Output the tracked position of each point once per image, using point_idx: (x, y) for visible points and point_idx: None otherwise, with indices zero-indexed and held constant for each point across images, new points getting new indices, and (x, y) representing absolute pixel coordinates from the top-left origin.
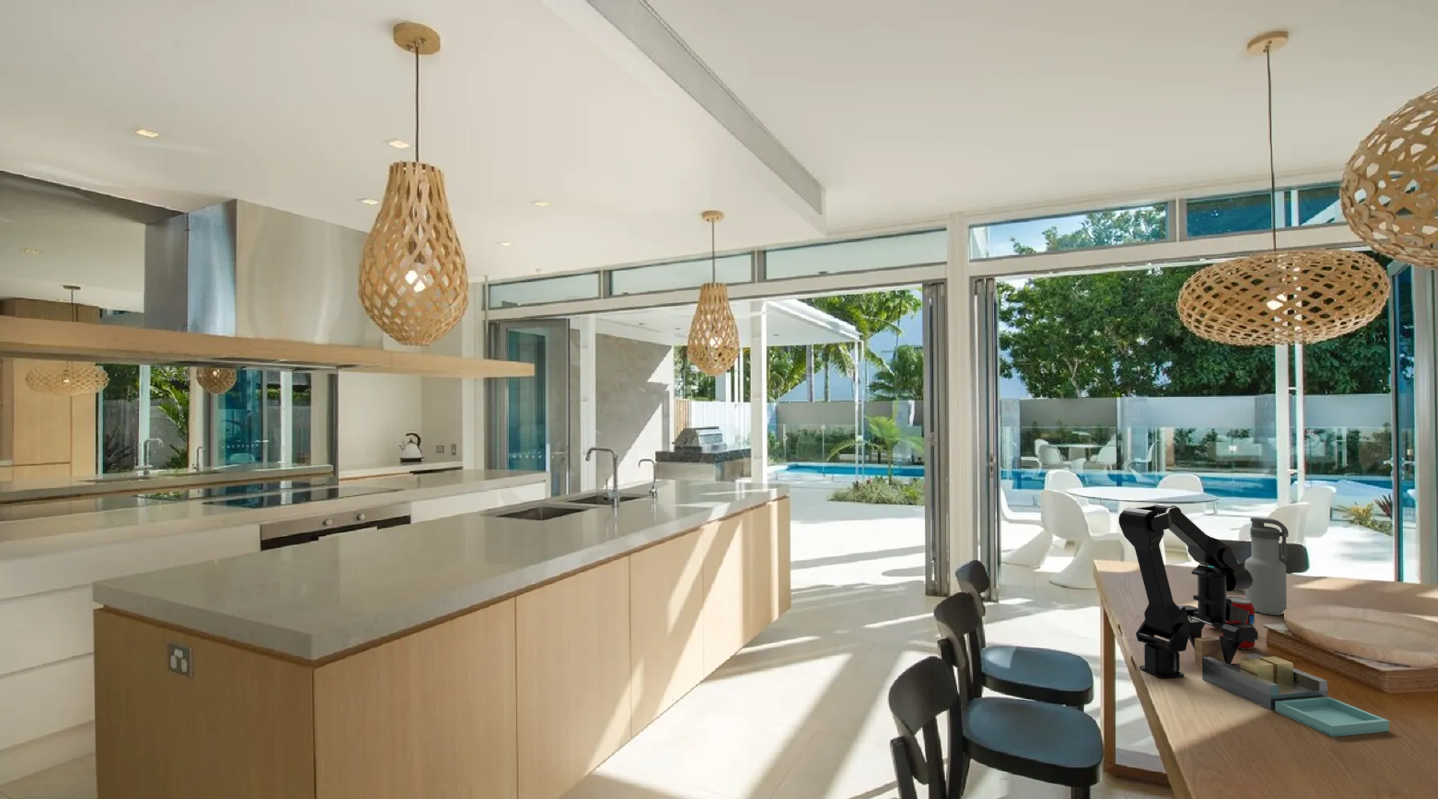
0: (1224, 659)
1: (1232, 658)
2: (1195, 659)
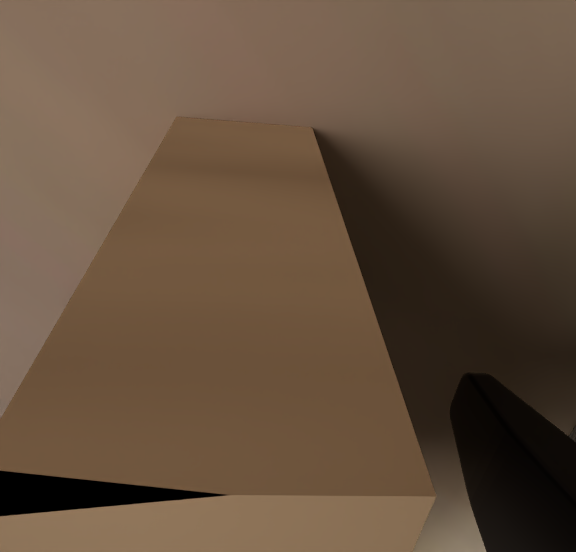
0: (472, 480)
1: (556, 442)
2: (192, 496)
